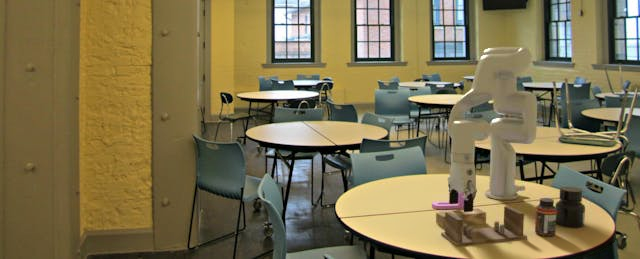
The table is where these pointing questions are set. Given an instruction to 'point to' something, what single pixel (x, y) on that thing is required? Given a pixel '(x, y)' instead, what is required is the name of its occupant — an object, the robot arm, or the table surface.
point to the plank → (463, 217)
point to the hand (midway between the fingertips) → (460, 207)
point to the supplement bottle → (545, 217)
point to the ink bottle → (570, 207)
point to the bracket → (450, 206)
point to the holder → (484, 229)
